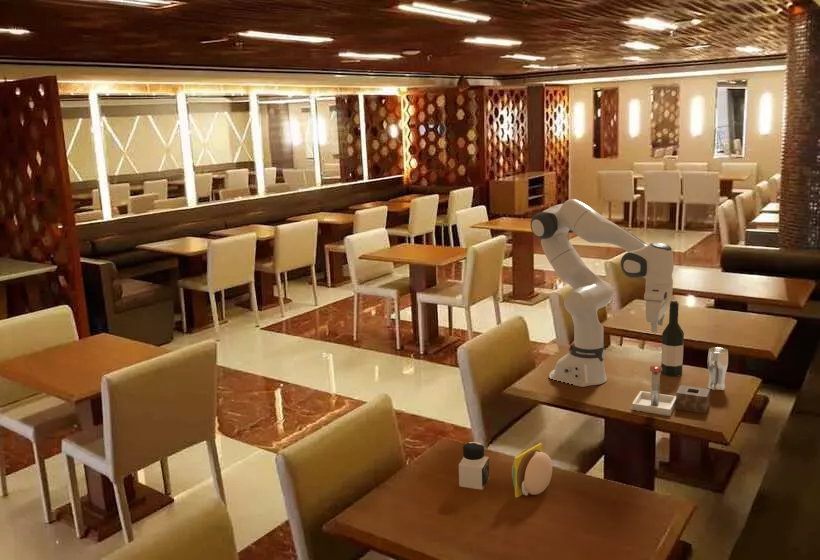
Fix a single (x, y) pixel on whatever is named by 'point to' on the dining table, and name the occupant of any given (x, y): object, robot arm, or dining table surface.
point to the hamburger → (531, 471)
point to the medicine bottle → (473, 467)
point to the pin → (655, 384)
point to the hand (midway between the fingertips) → (657, 328)
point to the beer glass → (717, 367)
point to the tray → (644, 405)
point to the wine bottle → (672, 344)
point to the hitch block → (692, 399)
